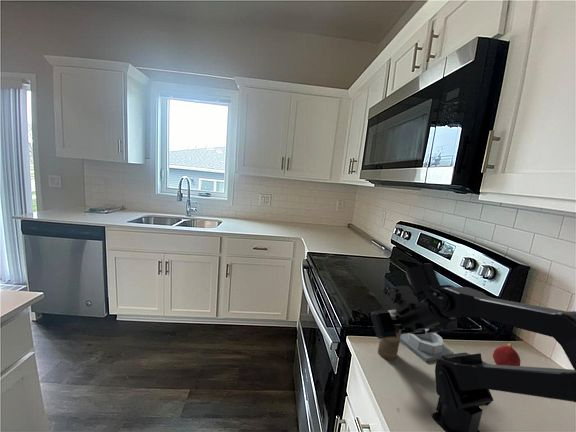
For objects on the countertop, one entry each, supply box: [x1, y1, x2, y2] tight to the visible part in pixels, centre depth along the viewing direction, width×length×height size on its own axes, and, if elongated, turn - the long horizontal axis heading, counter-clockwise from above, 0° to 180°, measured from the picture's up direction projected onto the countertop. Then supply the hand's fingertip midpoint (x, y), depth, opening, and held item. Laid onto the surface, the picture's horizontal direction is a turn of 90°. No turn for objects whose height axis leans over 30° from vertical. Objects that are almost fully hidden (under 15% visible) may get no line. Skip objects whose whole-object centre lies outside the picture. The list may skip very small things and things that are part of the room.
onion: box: [492, 343, 521, 366], centre depth 74 cm, size 6×6×8 cm
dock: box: [399, 329, 455, 363], centre depth 82 cm, size 11×11×4 cm
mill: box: [377, 309, 403, 361], centre depth 76 cm, size 5×5×13 cm
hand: (387, 329), depth 77 cm, fingers closed on mill, 5 cm apart
